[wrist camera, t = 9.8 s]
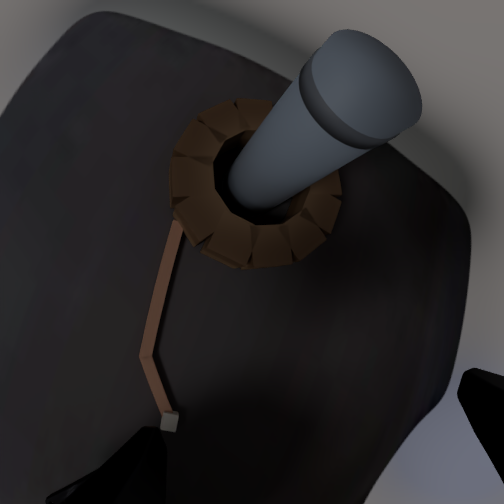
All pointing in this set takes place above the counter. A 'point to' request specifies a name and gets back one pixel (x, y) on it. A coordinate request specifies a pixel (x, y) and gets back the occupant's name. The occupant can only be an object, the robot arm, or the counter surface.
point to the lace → (151, 328)
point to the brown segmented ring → (217, 213)
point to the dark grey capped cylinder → (324, 121)
